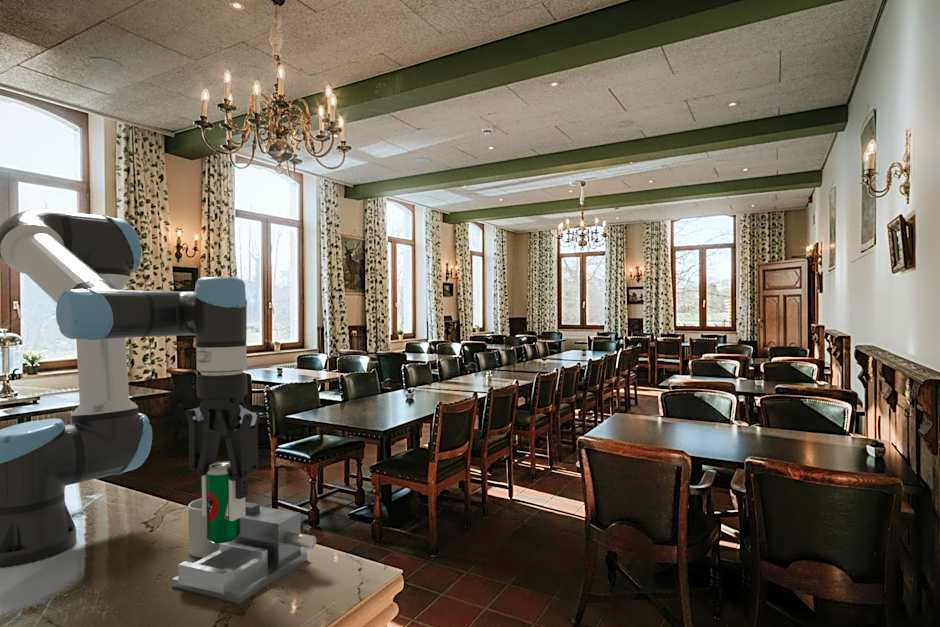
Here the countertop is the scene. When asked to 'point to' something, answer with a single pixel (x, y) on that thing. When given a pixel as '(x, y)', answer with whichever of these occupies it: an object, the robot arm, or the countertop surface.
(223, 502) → the soda can
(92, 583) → the countertop surface
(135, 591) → the countertop surface
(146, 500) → the countertop surface
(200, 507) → the cup
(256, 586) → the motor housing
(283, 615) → the countertop surface
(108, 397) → the robot arm
